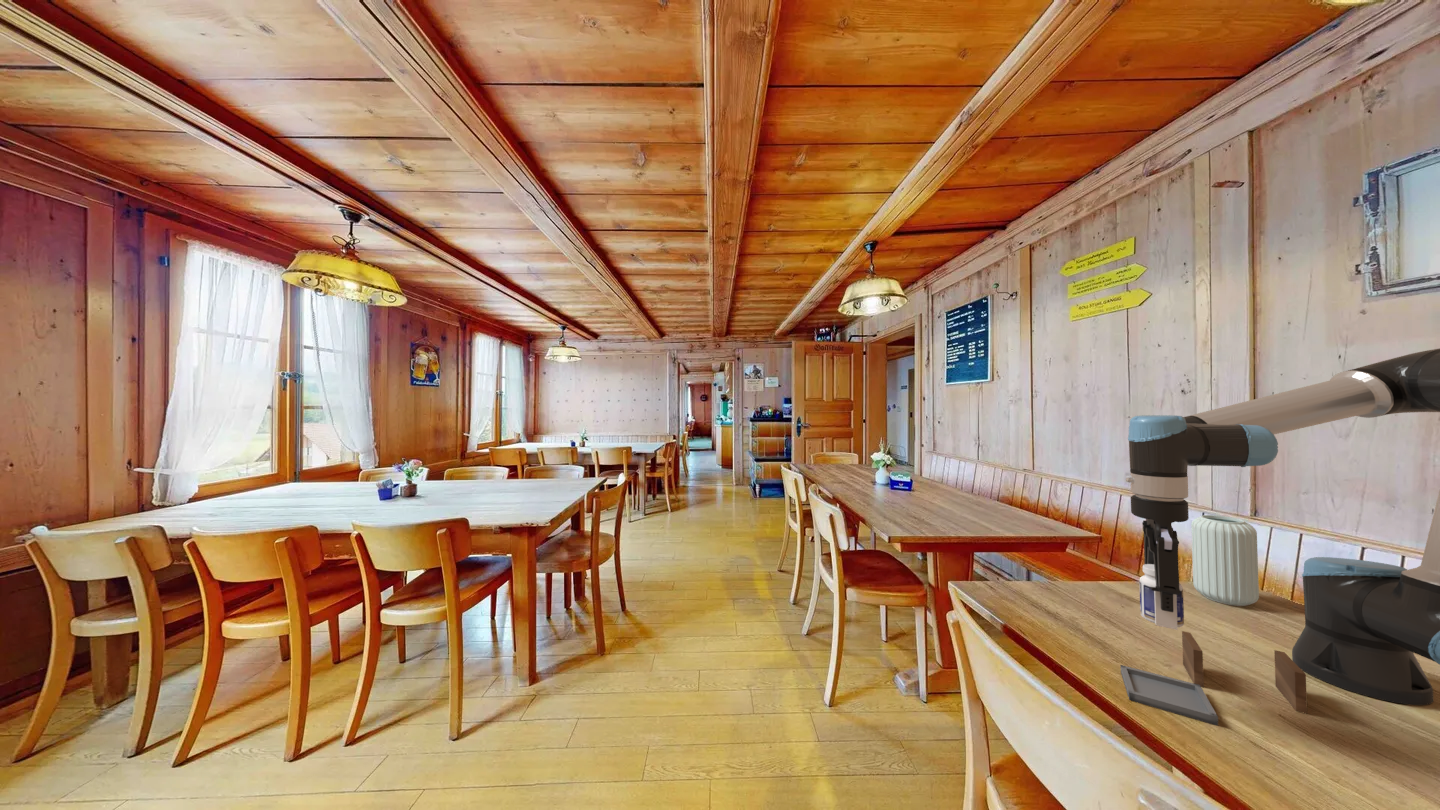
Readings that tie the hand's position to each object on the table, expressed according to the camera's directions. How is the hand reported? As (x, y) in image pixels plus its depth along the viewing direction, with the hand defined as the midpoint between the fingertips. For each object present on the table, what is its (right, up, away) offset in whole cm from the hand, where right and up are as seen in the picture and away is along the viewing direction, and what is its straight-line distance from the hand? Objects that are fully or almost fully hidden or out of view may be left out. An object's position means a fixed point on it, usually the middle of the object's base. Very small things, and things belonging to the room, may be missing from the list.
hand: (1161, 619), depth 79 cm
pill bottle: (0, -1, 0) cm, 1 cm away
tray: (+1, -15, 0) cm, 15 cm away
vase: (+55, -13, +36) cm, 67 cm away
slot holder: (+17, -14, +2) cm, 22 cm away
